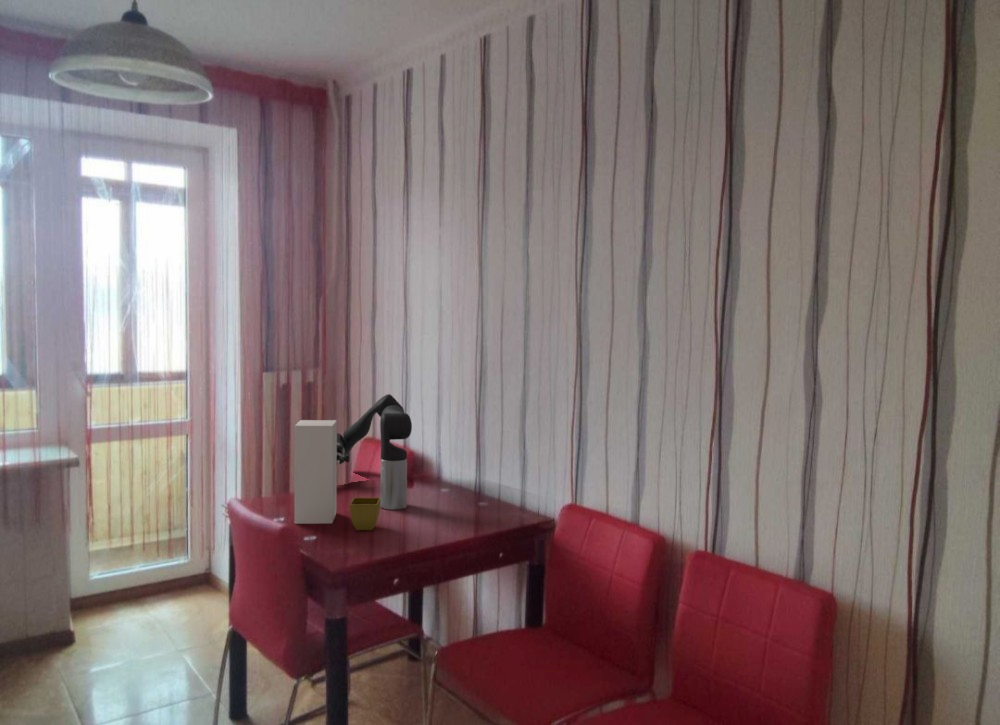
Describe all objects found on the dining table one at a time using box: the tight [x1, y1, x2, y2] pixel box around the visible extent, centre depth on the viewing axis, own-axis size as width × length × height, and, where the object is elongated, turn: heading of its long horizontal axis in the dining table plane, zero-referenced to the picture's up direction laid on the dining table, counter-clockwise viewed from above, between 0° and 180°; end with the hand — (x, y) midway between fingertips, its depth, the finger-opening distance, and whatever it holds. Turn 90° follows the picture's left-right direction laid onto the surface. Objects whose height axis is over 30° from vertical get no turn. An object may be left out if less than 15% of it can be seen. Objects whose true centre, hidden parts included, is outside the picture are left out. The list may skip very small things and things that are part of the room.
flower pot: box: [349, 497, 381, 531], centre depth 239 cm, size 9×9×9 cm
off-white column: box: [293, 419, 338, 525], centre depth 248 cm, size 12×12×32 cm
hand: (328, 461), depth 286 cm, fingers open, 8 cm apart
